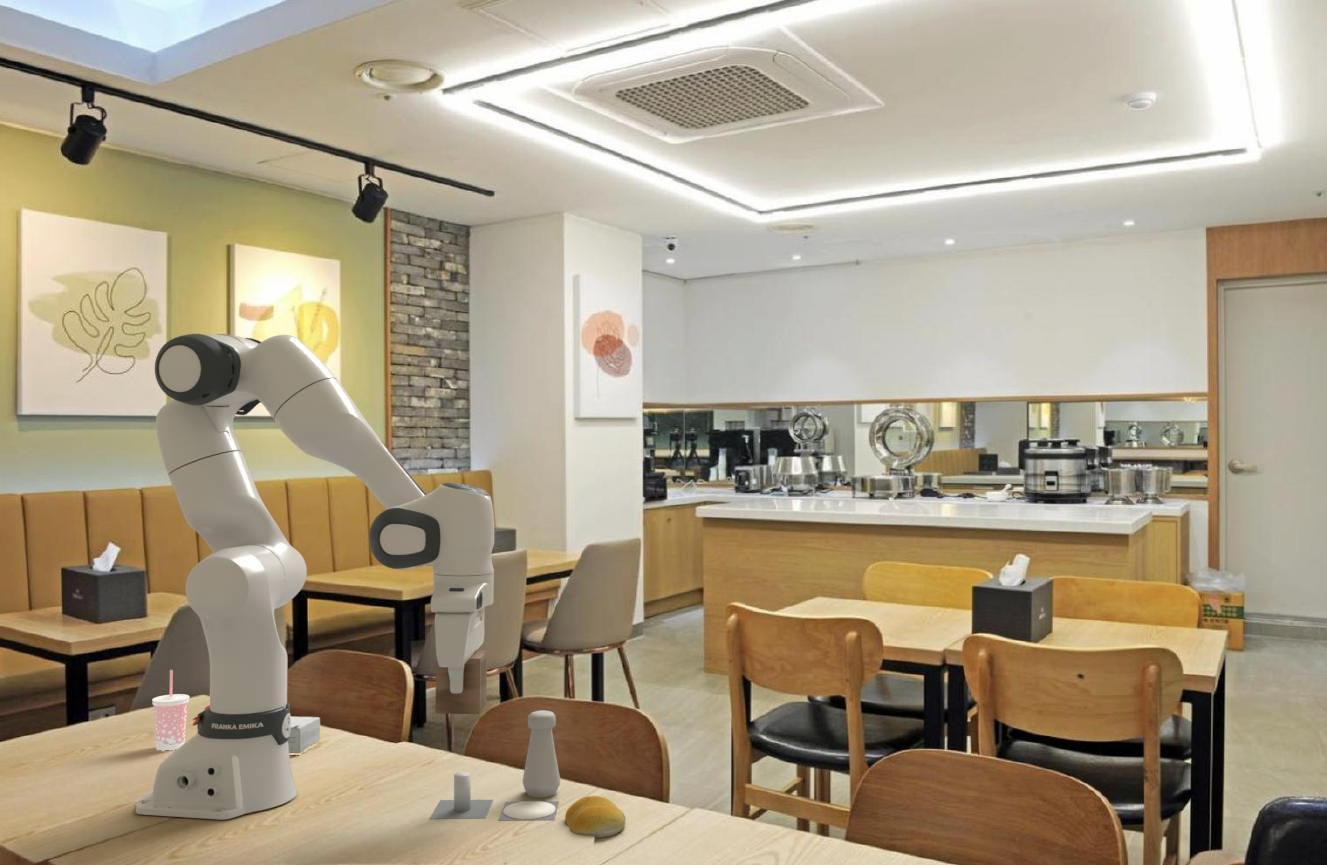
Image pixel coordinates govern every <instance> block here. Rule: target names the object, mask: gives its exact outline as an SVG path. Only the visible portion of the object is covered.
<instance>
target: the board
mask: <svg viewBox="0 0 1327 865" xmlns="http://www.w3.org/2000/svg"><path fill="white" fill-rule="evenodd" d="M471 774H472V773H470V772H467V771H465V772H464V771H461V772H456V773H454V774H453V799H440V800H439V801H438V803H437V805H436V807H435V808H434V810H433V812H432V814H431V815H430V816H429V820H451V819H453V820H457V819H458V820H460V819H461V820H462V819H472V820H474V819H476V820H477V819H479V820H480V819H482V820H483V819H486V818H487V816H488V814H489V811H490V808H491V806H492V804H493V802H494V799H471V798H472V797H471V796H472V795H471V793H472V792H471V787H472V786H471V783H472V782H471V781H472V780H471V778H472V777H471Z"/></svg>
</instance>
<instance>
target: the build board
mask: <svg viewBox="0 0 1327 865" xmlns="http://www.w3.org/2000/svg"><path fill="white" fill-rule="evenodd" d="M559 803H560V802H559V801H558V800H557V801H556V800H555V801H553V800H552V801H551V800H550V801H549V800H547V801H545V800H544V801H542V800H526V801H505V803H504V806H503V807H502V809H501V813H500V815H499V818H498V822H500V821H502V822H505V821H506V822H507V821H509V822H510V821H511V822H512V821H513V822H515V821H516V822H517V821H520V822H521V821H525V822H526V821H555V820H556V815H557V811H558V808H559V807H558V806H559Z"/></svg>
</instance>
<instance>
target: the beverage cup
mask: <svg viewBox="0 0 1327 865" xmlns="http://www.w3.org/2000/svg"><path fill="white" fill-rule="evenodd" d="M173 674H174V671H173V669H169V694H165V695H159V696H156V697H154V698H152V699H151V700H152V703H151V704H152V705H153V710H154V711H153V714H154V717H153V718H154V731H155V750H156V749H157V750H156V751H158V750H161V751H160V752H166V751H165V750H173V751H176V750H175V749H178V748H180V747H181V746H182V745H183V744H185V743H186V742H185V740H186V731H187V730H186V728H187V727H186V726H187V716H188V713H187V712H188V706H189V705H188V703H189V701H190V698H191V697H190V695H189V694H184V693H183V694H182V693H174V694H173V690H174V689H173V686H174V685H173V684H174V682H173V681H174V680H173V677H174V675H173Z"/></svg>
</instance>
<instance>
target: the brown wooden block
mask: <svg viewBox="0 0 1327 865" xmlns="http://www.w3.org/2000/svg"><path fill="white" fill-rule="evenodd" d="M435 662H436V663H435V666H436V668H435V704H434V705H435V709H434V711H435V712H434V714H436V715H444V714H445V715H480V714H481V713H482V711H483V709H484V708H485V706H486V704H487V686H488V685H487V680H488V679H487V677H488V676H487V675H488V674H487V673H488V668H487V667H488V650H487V649H485V650H484V649H480V650H479V649H477V650H476V652H475V653H474V654H473V655H472V656H471V657H470V659H469V660H468V661H467V662H466V663H465V664H464V690H463V691H462V692H461V693H451V691H450V678H449V673H448V667H440V666H439V664H438V661H437V657H436V661H435Z"/></svg>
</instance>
